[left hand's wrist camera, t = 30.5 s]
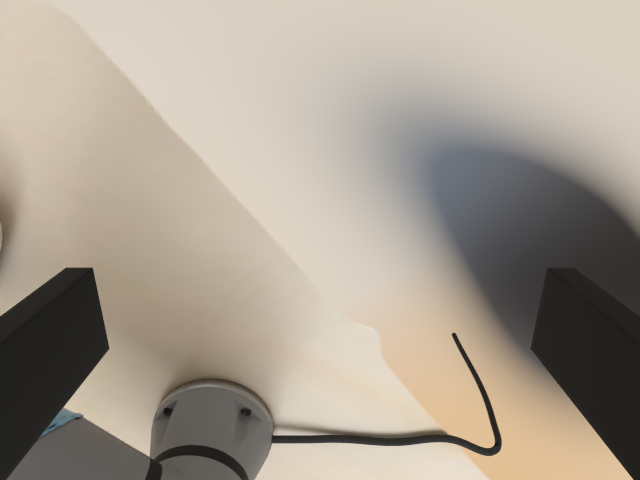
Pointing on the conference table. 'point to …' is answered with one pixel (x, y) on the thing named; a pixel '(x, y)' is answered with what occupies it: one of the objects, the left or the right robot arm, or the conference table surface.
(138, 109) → the conference table surface
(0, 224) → the projector
